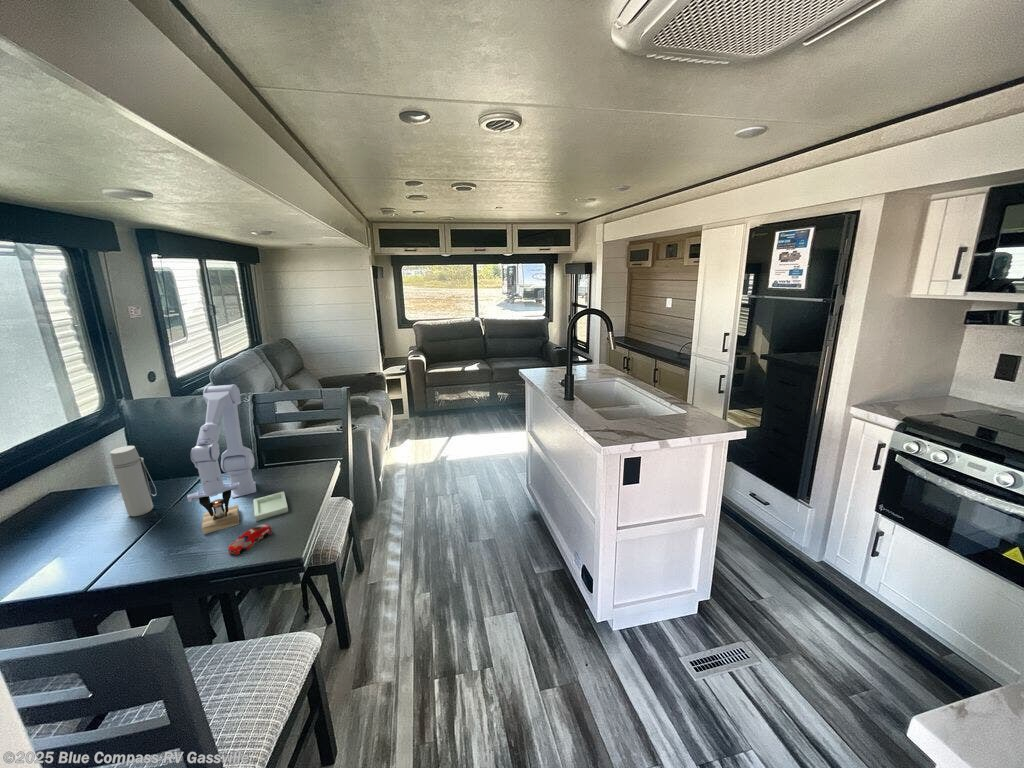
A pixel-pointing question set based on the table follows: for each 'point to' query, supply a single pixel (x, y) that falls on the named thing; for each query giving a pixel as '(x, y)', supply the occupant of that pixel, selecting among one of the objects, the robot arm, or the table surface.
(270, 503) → the tray
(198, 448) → the robot arm
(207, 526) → the socket block
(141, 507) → the water bottle
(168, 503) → the table surface
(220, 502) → the pin
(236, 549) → the race car
